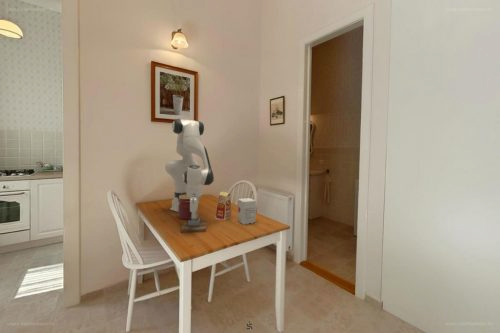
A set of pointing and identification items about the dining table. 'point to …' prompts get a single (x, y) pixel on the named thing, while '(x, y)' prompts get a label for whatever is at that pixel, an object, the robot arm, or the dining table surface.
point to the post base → (194, 229)
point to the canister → (184, 207)
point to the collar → (194, 222)
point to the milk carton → (223, 206)
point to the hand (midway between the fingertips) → (194, 215)
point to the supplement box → (246, 210)
